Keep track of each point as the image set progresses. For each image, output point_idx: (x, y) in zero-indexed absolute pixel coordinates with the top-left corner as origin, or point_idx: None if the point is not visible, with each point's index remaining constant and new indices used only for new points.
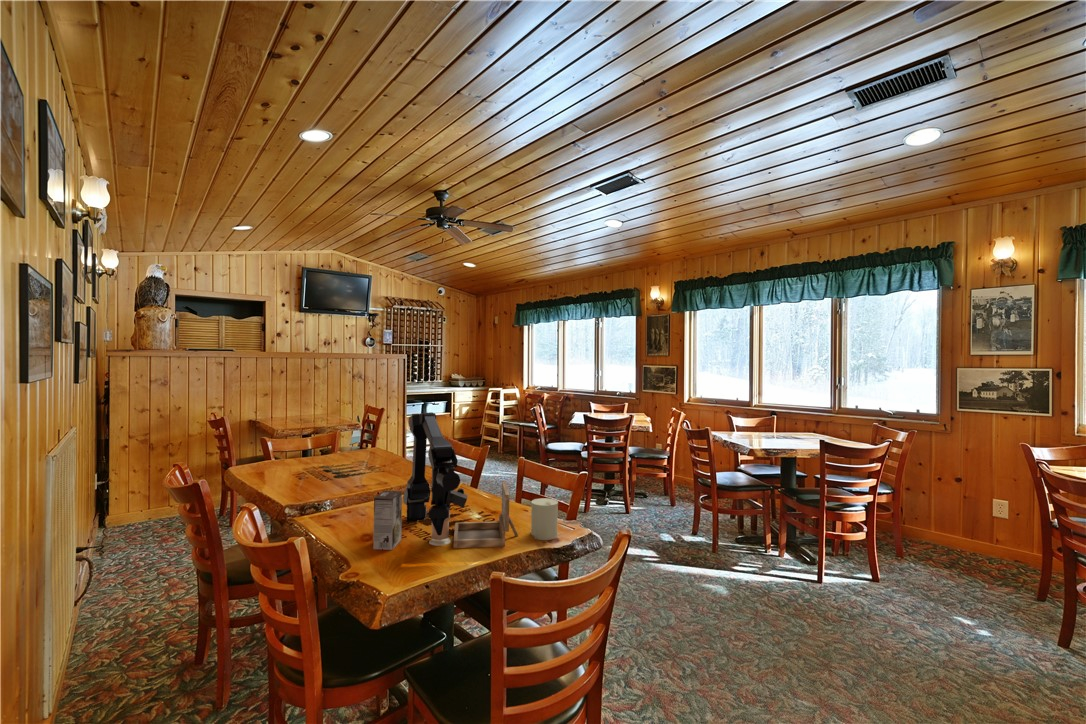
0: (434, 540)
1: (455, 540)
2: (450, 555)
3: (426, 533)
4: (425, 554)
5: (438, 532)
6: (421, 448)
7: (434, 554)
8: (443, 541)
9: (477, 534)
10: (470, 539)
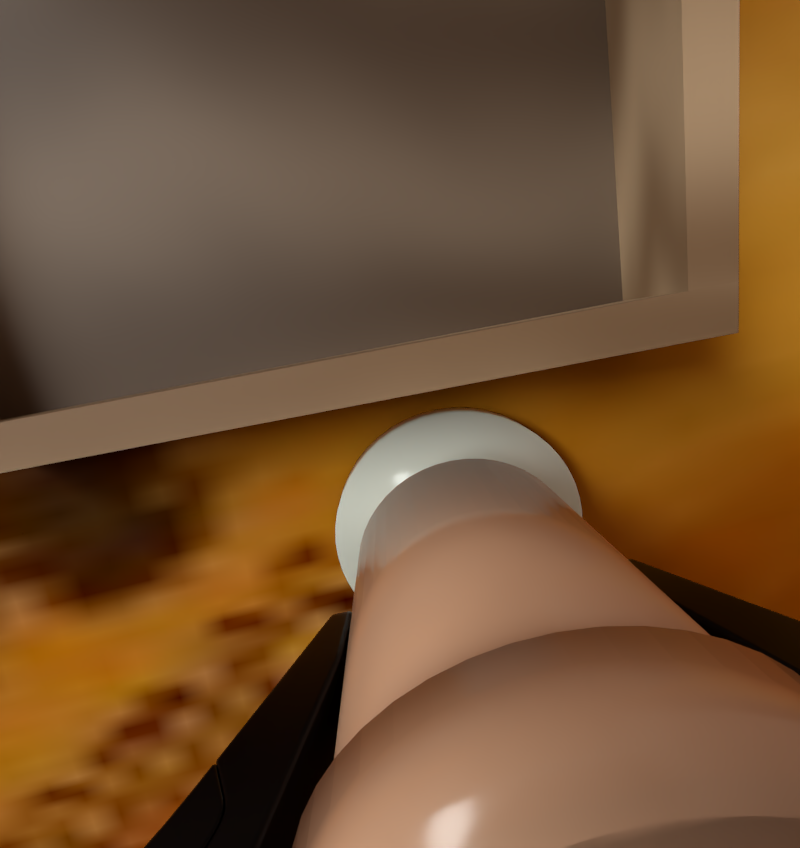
0: None
1: (730, 304)
2: (786, 332)
3: (162, 720)
4: (732, 577)
5: None
6: None
7: (740, 499)
8: None
9: (121, 85)
10: (702, 37)
